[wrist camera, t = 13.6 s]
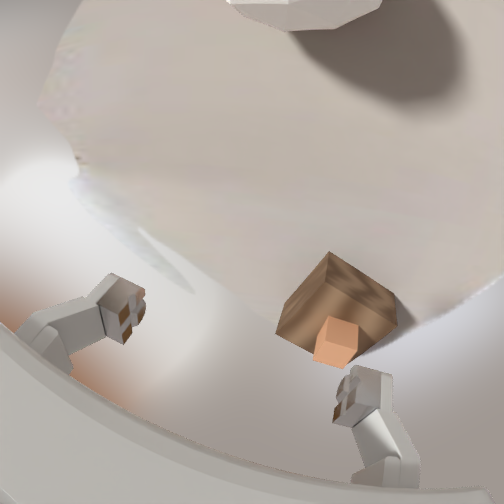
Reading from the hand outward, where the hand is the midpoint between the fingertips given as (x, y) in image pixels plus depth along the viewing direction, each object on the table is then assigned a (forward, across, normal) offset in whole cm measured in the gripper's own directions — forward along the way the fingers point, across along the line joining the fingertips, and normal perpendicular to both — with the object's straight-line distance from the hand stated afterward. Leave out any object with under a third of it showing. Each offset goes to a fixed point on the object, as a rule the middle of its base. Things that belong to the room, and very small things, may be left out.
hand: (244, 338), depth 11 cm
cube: (+26, -12, +25) cm, 38 cm away
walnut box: (+34, -12, +25) cm, 44 cm away
